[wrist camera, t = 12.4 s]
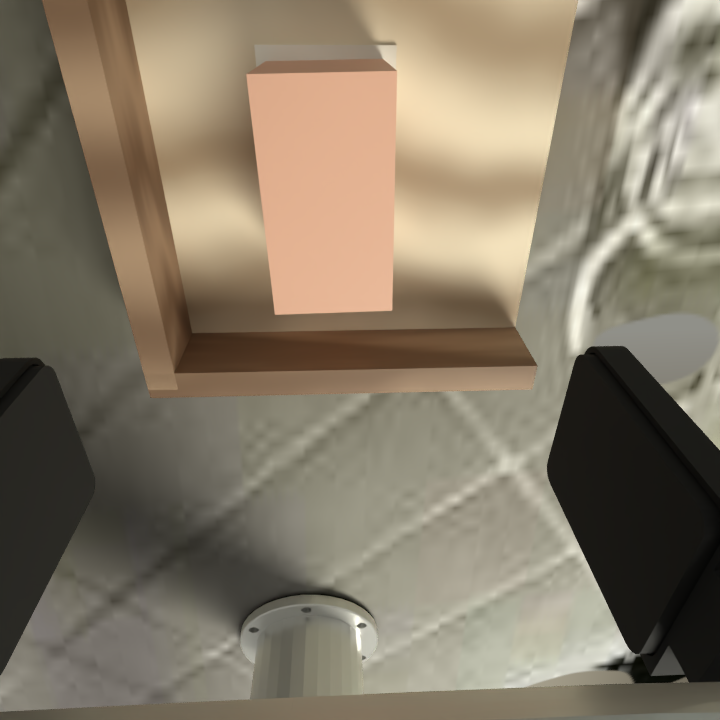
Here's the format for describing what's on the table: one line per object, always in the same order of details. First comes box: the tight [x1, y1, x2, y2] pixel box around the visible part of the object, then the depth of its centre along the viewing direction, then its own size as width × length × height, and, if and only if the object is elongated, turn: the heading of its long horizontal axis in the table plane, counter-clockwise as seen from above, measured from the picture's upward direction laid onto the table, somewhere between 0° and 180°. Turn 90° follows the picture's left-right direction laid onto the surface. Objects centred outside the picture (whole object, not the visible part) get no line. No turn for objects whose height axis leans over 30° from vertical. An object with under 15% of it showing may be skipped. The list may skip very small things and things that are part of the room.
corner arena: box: [42, 0, 578, 398], centre depth 24 cm, size 22×20×5 cm
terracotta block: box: [246, 59, 397, 315], centre depth 22 cm, size 5×9×6 cm, turn 1°
